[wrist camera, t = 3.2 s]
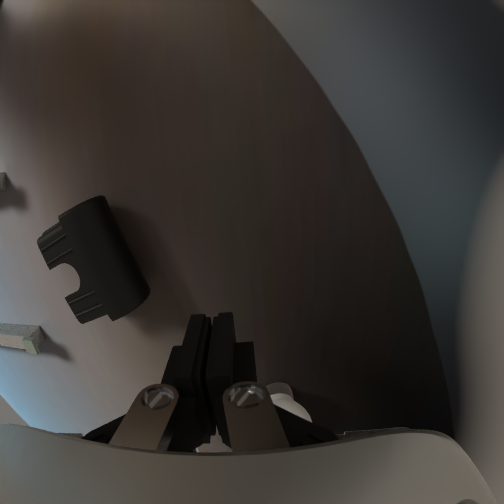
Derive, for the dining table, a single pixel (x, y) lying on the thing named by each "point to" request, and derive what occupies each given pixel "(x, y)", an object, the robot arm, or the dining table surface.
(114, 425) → the robot arm
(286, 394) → the light bulb
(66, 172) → the dining table surface
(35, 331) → the mounting bracket
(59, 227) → the end cap
